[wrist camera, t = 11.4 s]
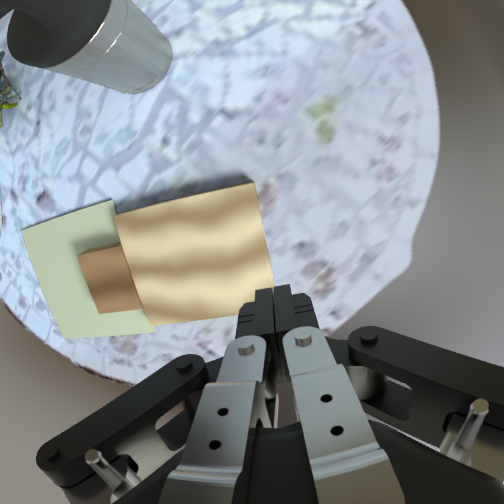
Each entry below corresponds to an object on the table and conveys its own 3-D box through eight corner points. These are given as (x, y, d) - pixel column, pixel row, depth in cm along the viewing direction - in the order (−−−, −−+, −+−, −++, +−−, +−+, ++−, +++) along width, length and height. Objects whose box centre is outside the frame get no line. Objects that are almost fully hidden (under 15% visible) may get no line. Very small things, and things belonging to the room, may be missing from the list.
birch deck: (119, 212, 38) (113, 216, 36) (254, 181, 36) (253, 183, 34) (154, 318, 43) (150, 325, 41) (277, 300, 41) (278, 308, 39)
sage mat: (22, 230, 39) (21, 230, 38) (112, 199, 37) (111, 199, 37) (65, 337, 45) (64, 338, 45) (156, 330, 43) (155, 332, 43)
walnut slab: (85, 250, 39) (76, 255, 37) (125, 240, 38) (117, 246, 36) (106, 306, 42) (98, 314, 40) (145, 300, 41) (139, 309, 39)
